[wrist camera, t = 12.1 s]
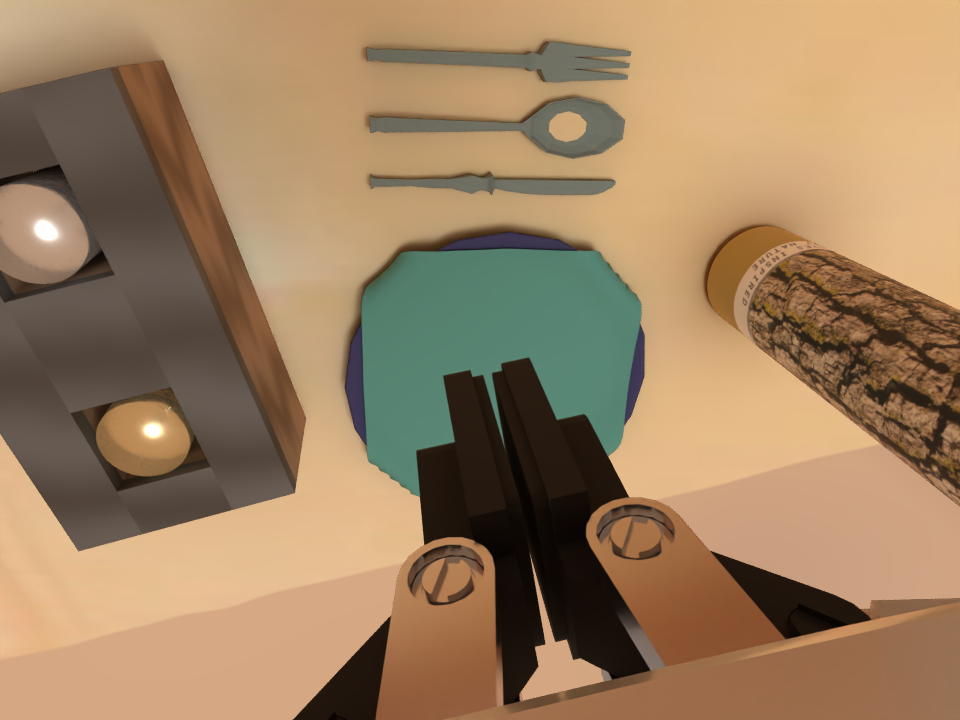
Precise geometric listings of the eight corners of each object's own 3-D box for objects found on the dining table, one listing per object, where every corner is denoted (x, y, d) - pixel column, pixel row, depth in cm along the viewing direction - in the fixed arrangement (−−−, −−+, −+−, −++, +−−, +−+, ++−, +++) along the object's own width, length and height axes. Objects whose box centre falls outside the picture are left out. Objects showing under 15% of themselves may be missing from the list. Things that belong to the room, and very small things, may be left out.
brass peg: (124, 355, 39) (79, 416, 33) (198, 336, 39) (167, 393, 33) (157, 416, 41) (120, 485, 35) (227, 398, 41) (203, 463, 35)
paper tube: (683, 299, 44) (1006, 568, 22) (740, 206, 42) (1164, 401, 20) (760, 334, 46) (1125, 609, 24) (818, 246, 44) (1280, 462, 22)
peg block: (-76, 117, 33) (-197, 139, 26) (163, 60, 33) (109, 67, 26) (125, 466, 43) (78, 551, 36) (305, 418, 44) (294, 493, 36)
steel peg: (26, 168, 34) (-50, 198, 27) (112, 147, 34) (56, 173, 28) (69, 249, 36) (7, 294, 29) (149, 229, 36) (105, 270, 30)
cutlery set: (352, 497, 47) (351, 517, 45) (327, 31, 34) (325, 31, 32) (615, 480, 51) (626, 499, 49) (685, 48, 38) (704, 49, 36)
